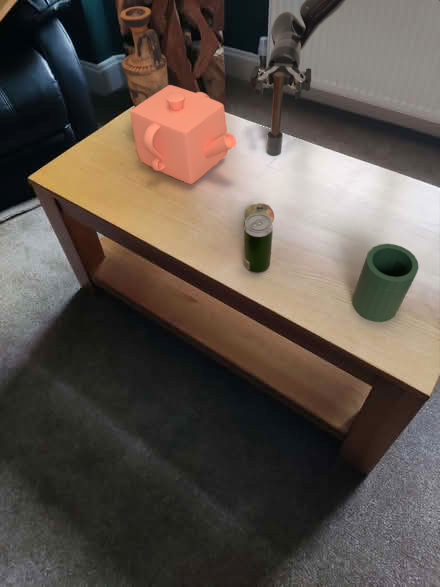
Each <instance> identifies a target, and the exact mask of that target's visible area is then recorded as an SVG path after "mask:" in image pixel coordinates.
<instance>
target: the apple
mask: <svg viewBox="0 0 440 587" xmlns="http://www.w3.org/2000/svg"><path fill="white" fill-rule="evenodd" d="M257 213H259V214H265V215H267V216H268V217H270V219H271V221H272V224H273V222H274V221H275V213H274V210H273V208H272V207H271V206H270V205H269V204H266V203H261V202H259V203H253V204H251V205H249V206H248V207H246V209H245V210H244V213H243V217H244V218H243V219H244V221H246V219H247V218H248V217H249V216H250V215H253V214H257Z"/></svg>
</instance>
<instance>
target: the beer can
mask: <svg viewBox="0 0 440 587" xmlns="http://www.w3.org/2000/svg"><path fill="white" fill-rule="evenodd" d="M273 230H274V225H273V223H272V221H271V219H270V217H268V216H267V215H265V214H259V213H257V214H253V215H250V216H249V217H248V218H247V219H246V220H245V223H244V225H243V266H244V267H245V269H246V270H247V271H248V272H249V273H251V274H254V275H259V274H260V275H261V274H263V273H265V272H267V270H269V268H270V266H271V256H272V244H273V243H272V242H273Z"/></svg>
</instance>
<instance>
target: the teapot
mask: <svg viewBox="0 0 440 587" xmlns="http://www.w3.org/2000/svg"><path fill="white" fill-rule="evenodd" d="M129 113H130V120H131V127H132V134H133V140H134V144H135V145H134V146H135V150H136V153H137V156H138V159H139V162H141V163H143V164H145V165H147V166H149V167H150V168H152V169H153V170H154V171H156V172H161V173H163V174H165V175H167V176H169V177H172V178H174V179H177V180H178V181H180V180H181V181H180V182H182V181H184V182H183V183H185V184H186V183H187V184H189V185H193V184H194V183H196V182H197V181H198V180H200V178H202V177H203V176H204V175H206V173H207V172H209V171H210V170H211V169H212V168H213V167H215V166H216V165H217V164H218V163H219V162H220V161H221V160H222V159H224V158H225V157H226V156H227V154H228V151H230V150H231V149H234V148H235V147H236V144H237V139H236V137H235V136H234V134H233V133H231V132H227V120H226V113H225V105H224V104H223V103H222V102H220V101H218V100H216V99H213V98H211V97H210V96H209V95H208V94H207V93H205V92H203V91H196V92H194V91H190V90H187V89H186V88H182V87H179V86H175V85H172V84H168V86H167V87H165V88H164V89H162V90H160V91H159V92H157V93H156V94H154V95H153V96H151V97H150V98H148V99H146V100H145V101H144V102H142V103H141V104H139V105H138V106H136V107H133V108H132V109H130V111H129Z"/></svg>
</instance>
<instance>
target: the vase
mask: <svg viewBox="0 0 440 587" xmlns="http://www.w3.org/2000/svg"><path fill="white" fill-rule="evenodd" d="M151 16H152V10H151V9H150V8H149V7H146V6H138V5H137V6H131V7H128V8H125V9H124V10H122V11H121V12H120V14H119V18H120V20H122V22H123V23H124V25H125V27H127V28H129V29H130V31H131V34H132V39H133V43H134V44H133V45H134V53H132V54H129V55H127V56H126V57H124V58H123V59H122V62H121V68H122V70H123V74H124V77H125V80H126V85H127V87H128V90H129V91H128V92H129V94H130V99H131V101H132V104H133V108H135V107H136V106H138V105H139V104H141V103H142V102H144V101H145V100H146V99H148V98H150V97H151V96H153V95H154V94H156V93H157V92H159V91H160V90H162V89H164V88H165V87H167V86H168V85H169V76H168V63H167V57H166V56H165V55H164V54H163V53H162V49H161V47H160V40H159V36H158V34H157V32H156V31H155V29H153V28H147V27H148V24H149V23H150V20H151Z"/></svg>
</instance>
